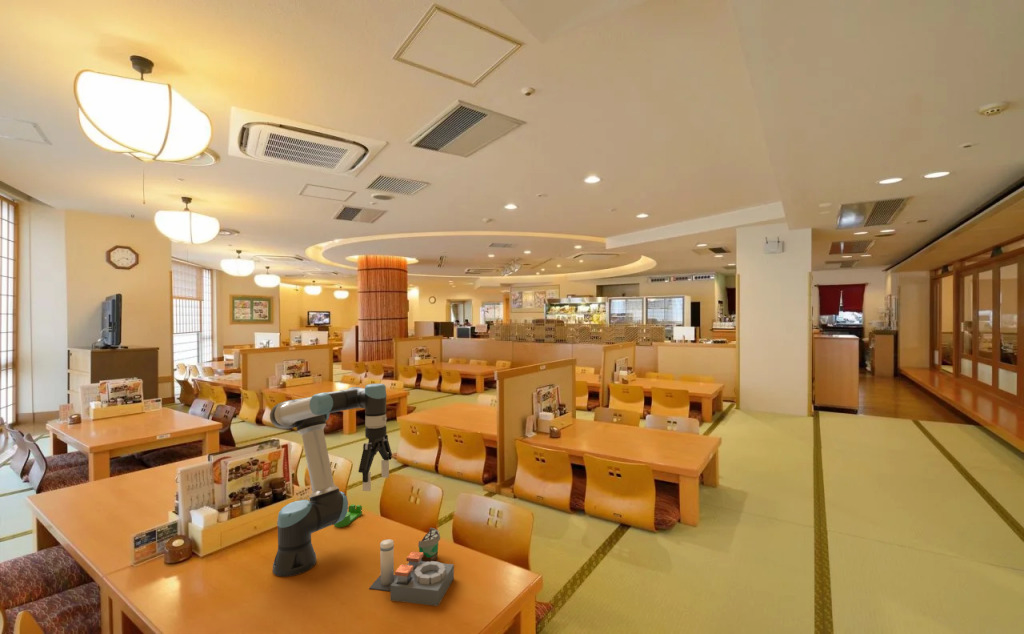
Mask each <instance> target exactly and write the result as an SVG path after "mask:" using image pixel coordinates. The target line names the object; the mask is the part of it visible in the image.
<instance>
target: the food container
mask: <svg viewBox="0 0 1024 634" xmlns="http://www.w3.org/2000/svg"><path fill="white" fill-rule="evenodd" d="M439 541H441V535H440V532H439V530H437V529H436V528H433V527H429V531H428V532H427V533H426V534H425V535H424V536H423V538H422V539H421V540H419V541H418V544H417V546H418V552H423V554H424V556H423V557H422V558H421V561H424V562H428V561H429V562H431V561H435V562H438V557H439V556H438V554H439Z"/></svg>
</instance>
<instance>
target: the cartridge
mask: <svg viewBox="0 0 1024 634" xmlns="http://www.w3.org/2000/svg"><path fill="white" fill-rule="evenodd" d="M394 545H395V544H394V540H393V539H388V538H387V539H383V540H382V541H381V542H380V546H379V547H380V548H379V549H380V575H381V584H382V585H389V584H392V583H393V582H394V575H395V571H394V569H395V567H394V566H395V565H394V564H395V563H394V560H395V557H394V555H395V554H394V553H395V552H394V549H395V546H394Z"/></svg>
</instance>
